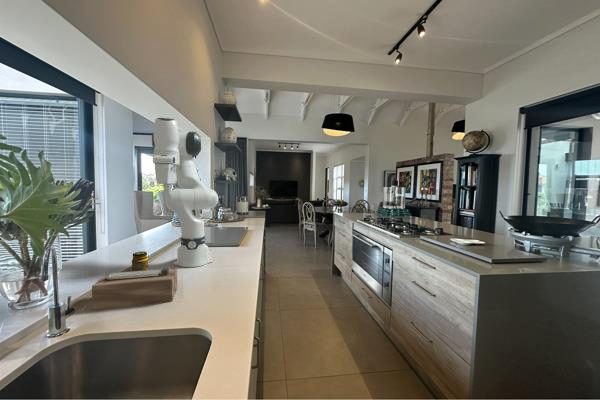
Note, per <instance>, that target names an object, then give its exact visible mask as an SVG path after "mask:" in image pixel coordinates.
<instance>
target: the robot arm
mask: <svg viewBox="0 0 600 400" xmlns="http://www.w3.org/2000/svg"><path fill="white" fill-rule="evenodd" d="M151 146H152V147H153V149H154V150H153V157H152V162H153V163H152V164H154V173H155V174H154V175H155V180H156V183H157V185H162V187H163V191H164V192H163V193H164V194H163V195H164V199H163V200H164V204H165V207H166V208H167V209H168V210H170V211H172V212H173V213H174V214H175V215H176V216H177V218H178V219H179V222H180V223H179V224H180V230H181V237H180V246H178V248H177V260H175V261H174V262H173V265H174V266H179V267H180V268H181V267H183V268H195V267H201V266H205V265H207V264H211V263H213V262H214V261H213V259H212V257H211V256H210V252H209V246H208V245H207V244H206V239H207V238H206V234H205V222H204V220H203V219H202V218H201V217H198V216H197V215H194V214H193V212H192V211H200V210H209V209H210V210H211V209H215V208H216V207H217V205H218V203H219V195H218V193H217V191H215V190H214V189H212V188H209V187H208V186H206V185H205V184H204V183H203V182H202V180H201V179H200V176H199V174H198V169H197V167H196V164H195V162H194V158H195V159H197V156H199V154H200V153H201V150H202V146H203V142H202V138H201V136H200V135H199V133H198V132H196V131H188V130H185V129H183V128H182V127H180V126H179V125H178V121H177V120H176V119H174V118H167V117H157V118H155V119H154V127H153V133H152V134H151ZM176 183H177V184H178V187H179V188H175V189H172V186H173V185H174V184H176ZM172 184H173V185H172Z"/></svg>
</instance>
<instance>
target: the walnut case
mask: <svg viewBox="0 0 600 400" xmlns="http://www.w3.org/2000/svg"><path fill="white" fill-rule="evenodd" d="M160 270H161V273H160V274H159V276H149V277H136V278H123V279H110V280H105V277H106V276H107V275H109V274H110V273H106V274H105V275H103V276H102V277H100V279H98V280H97V282H94V284H92V285H91V294H92V295H91V298H92V299H91V300H92V301H91V303H92V310H101V309H112V308H121V307H129V306H139V305H149V304H157V303H166V302H168V303H169V302H173V300H174V298H175V295H176V292H177V291H178V268H169V267H163V268H161V269H160Z"/></svg>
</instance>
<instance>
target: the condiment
mask: <svg viewBox="0 0 600 400" xmlns="http://www.w3.org/2000/svg"><path fill="white" fill-rule="evenodd" d="M148 270H149V258H148V253H147V251H136V252H133V253H132V259H131V272H134V271H148Z"/></svg>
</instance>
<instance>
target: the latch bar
mask: <svg viewBox="0 0 600 400" xmlns="http://www.w3.org/2000/svg"><path fill="white" fill-rule="evenodd" d="M161 270H162V269H153V270H152V269H148V271H134V272H132V271H123V272H121V271H120V272H109V273H108V274H109V275H107V276H106V277H105V280H110V279H123V278H136V277H149V276H159V274H160V273H161Z"/></svg>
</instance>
